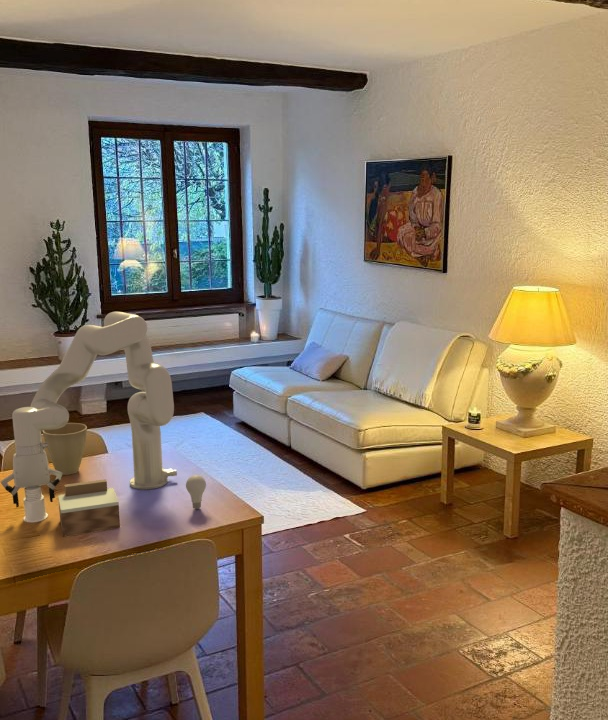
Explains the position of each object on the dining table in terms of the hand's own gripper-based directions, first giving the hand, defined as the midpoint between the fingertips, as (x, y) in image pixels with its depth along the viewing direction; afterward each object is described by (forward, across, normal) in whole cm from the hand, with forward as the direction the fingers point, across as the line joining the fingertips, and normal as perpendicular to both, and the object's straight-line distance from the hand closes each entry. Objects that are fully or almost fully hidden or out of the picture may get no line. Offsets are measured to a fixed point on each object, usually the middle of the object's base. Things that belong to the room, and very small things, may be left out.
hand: (34, 503), depth 223 cm
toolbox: (+5, -15, +11) cm, 19 cm away
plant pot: (+5, -12, -39) cm, 41 cm away
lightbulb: (+5, -47, +12) cm, 49 cm away
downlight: (+5, 0, 0) cm, 5 cm away
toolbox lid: (-2, -15, +11) cm, 19 cm away
